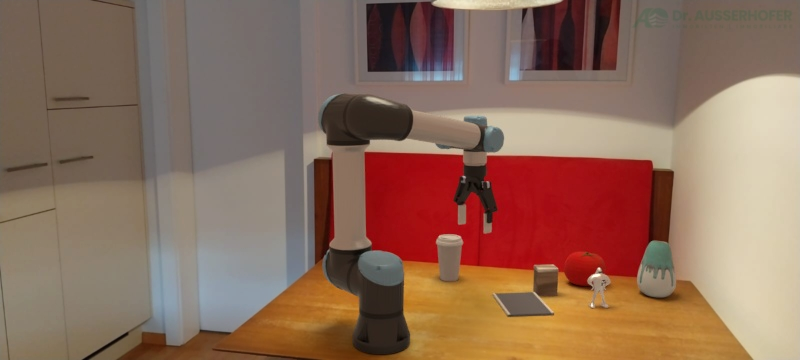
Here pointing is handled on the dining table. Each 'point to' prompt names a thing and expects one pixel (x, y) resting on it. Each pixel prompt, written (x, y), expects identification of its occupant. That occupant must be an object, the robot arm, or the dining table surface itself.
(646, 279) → the vase
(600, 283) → the figurine
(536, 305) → the mat
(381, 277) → the robot arm
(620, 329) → the dining table surface
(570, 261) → the tomato
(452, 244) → the coffee cup
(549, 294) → the block
